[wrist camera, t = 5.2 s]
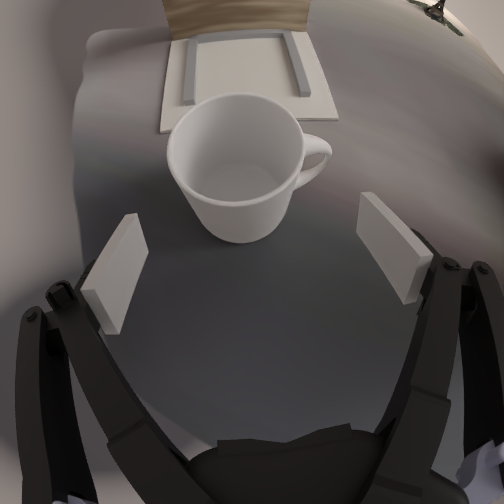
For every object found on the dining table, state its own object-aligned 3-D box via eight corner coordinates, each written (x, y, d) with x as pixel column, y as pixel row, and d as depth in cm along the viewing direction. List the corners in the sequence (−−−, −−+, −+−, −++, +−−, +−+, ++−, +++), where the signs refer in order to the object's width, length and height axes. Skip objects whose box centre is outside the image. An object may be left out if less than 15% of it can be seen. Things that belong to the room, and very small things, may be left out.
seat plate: (337, 120, 28) (341, 113, 27) (161, 133, 28) (157, 126, 27) (306, 34, 31) (307, 27, 30) (172, 43, 31) (170, 36, 30)
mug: (330, 224, 26) (374, 178, 16) (207, 255, 26) (177, 223, 15) (303, 148, 28) (325, 78, 17) (190, 174, 27) (160, 109, 17)
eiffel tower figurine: (464, 38, 36) (485, 7, 22) (445, 35, 35) (467, -1, 22) (425, 4, 38) (440, -27, 25) (403, 0, 37) (418, -36, 24)
